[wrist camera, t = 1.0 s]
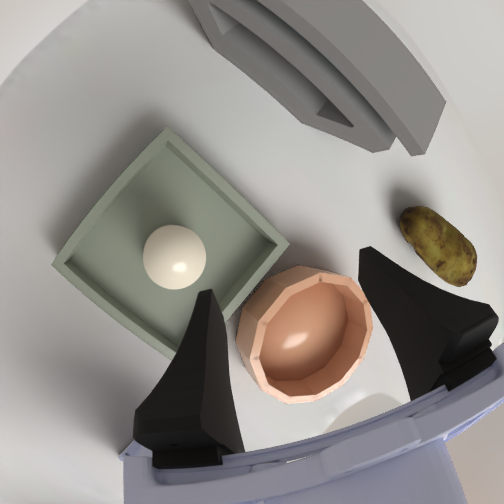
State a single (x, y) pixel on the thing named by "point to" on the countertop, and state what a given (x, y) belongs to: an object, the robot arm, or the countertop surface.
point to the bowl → (304, 333)
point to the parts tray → (153, 216)
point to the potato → (439, 245)
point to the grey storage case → (329, 67)
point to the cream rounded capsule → (174, 256)
